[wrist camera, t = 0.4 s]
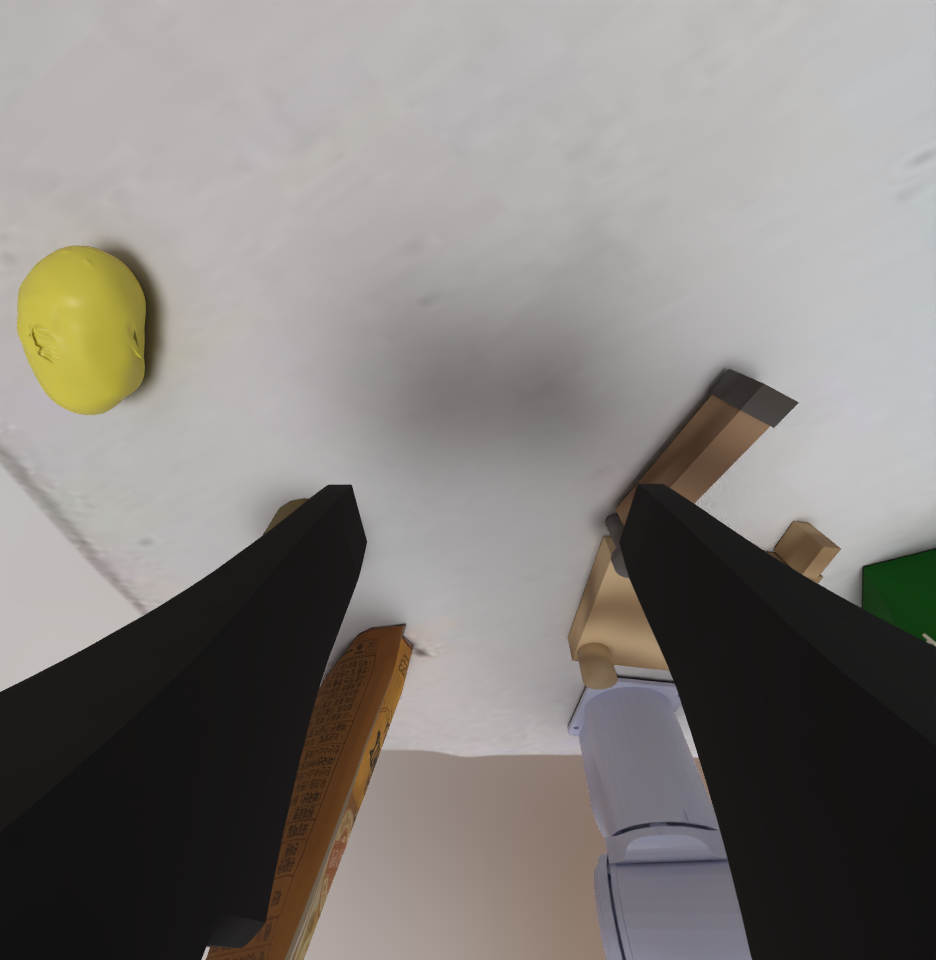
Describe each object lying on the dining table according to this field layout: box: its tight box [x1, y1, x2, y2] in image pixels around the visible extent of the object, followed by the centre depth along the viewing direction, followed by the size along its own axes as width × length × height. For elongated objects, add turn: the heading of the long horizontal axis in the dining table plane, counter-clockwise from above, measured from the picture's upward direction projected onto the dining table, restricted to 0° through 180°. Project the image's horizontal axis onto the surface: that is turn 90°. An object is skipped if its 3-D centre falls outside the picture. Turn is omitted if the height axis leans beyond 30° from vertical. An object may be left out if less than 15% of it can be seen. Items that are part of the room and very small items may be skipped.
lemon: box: [17, 246, 146, 415], centre depth 16 cm, size 4×8×4 cm, turn 142°
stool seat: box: [568, 515, 841, 690], centre depth 22 cm, size 13×13×4 cm
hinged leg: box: [616, 369, 798, 526], centre depth 17 cm, size 9×2×2 cm, turn 156°
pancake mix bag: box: [206, 625, 413, 960], centre depth 19 cm, size 7×19×28 cm, turn 149°
